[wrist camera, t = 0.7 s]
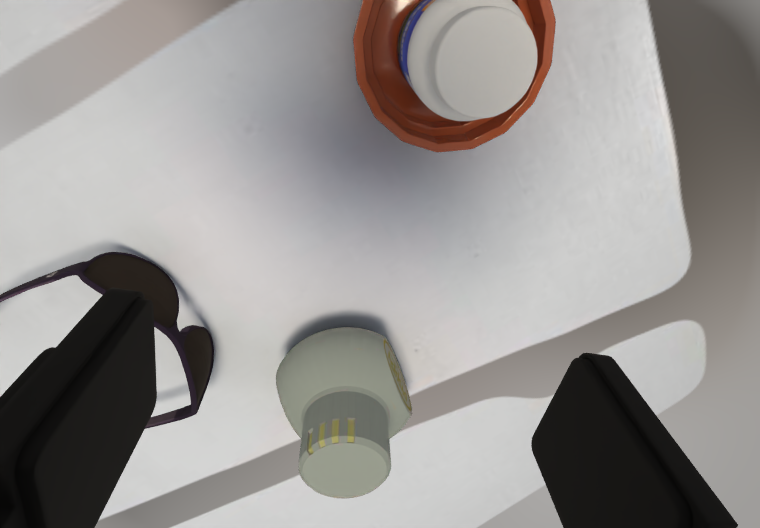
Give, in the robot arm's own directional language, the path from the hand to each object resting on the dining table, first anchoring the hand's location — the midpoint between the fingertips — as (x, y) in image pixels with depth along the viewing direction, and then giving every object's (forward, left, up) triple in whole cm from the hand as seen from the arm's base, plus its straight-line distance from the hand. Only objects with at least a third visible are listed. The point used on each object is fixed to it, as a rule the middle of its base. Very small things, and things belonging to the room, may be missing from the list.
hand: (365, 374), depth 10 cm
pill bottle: (-5, +5, -21) cm, 22 cm away
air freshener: (+18, -3, -21) cm, 28 cm away
